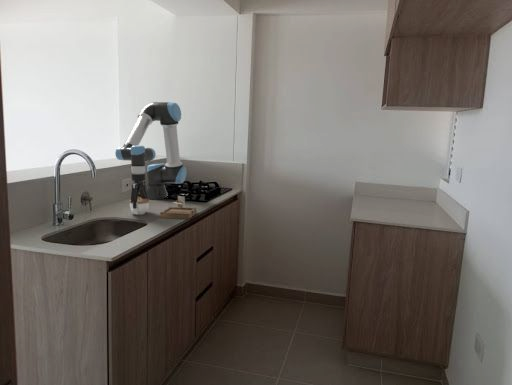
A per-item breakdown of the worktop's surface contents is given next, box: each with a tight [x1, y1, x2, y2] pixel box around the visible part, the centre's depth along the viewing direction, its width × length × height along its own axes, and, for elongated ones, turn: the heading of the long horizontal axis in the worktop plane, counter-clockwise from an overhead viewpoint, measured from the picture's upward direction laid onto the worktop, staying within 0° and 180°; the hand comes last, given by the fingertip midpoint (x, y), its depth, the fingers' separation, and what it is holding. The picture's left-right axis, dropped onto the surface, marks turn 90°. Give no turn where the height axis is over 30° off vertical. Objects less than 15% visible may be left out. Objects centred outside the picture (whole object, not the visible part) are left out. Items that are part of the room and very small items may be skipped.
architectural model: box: [172, 195, 186, 208], centre depth 258 cm, size 3×7×7 cm, turn 55°
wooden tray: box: [159, 206, 197, 220], centre depth 238 cm, size 16×16×3 cm
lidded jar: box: [128, 196, 150, 216], centre depth 240 cm, size 11×11×9 cm
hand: (139, 211), depth 241 cm, fingers closed on lidded jar, 11 cm apart
